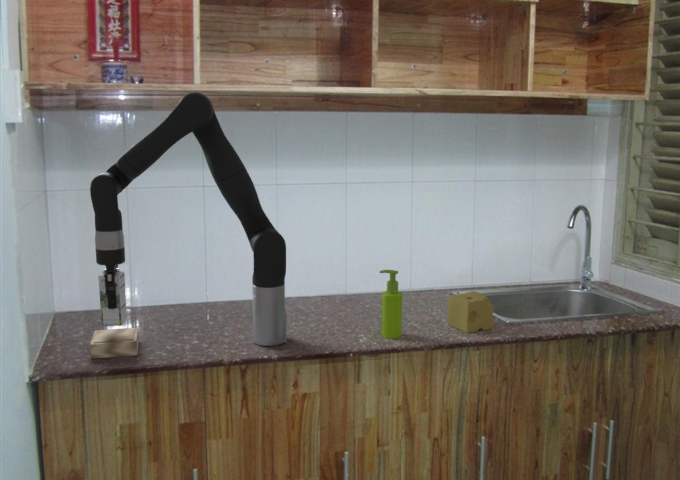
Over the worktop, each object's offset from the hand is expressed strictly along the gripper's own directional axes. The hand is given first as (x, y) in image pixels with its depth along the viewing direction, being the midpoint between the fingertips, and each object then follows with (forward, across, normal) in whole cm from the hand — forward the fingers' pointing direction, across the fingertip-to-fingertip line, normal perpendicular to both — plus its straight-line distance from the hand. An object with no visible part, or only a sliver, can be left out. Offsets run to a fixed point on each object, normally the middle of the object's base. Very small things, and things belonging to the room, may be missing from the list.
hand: (113, 304), depth 187 cm
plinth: (+13, 0, 0) cm, 13 cm away
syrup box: (+5, 0, 0) cm, 5 cm away
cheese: (+13, -4, -106) cm, 107 cm away
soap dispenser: (+13, -6, -79) cm, 80 cm away
